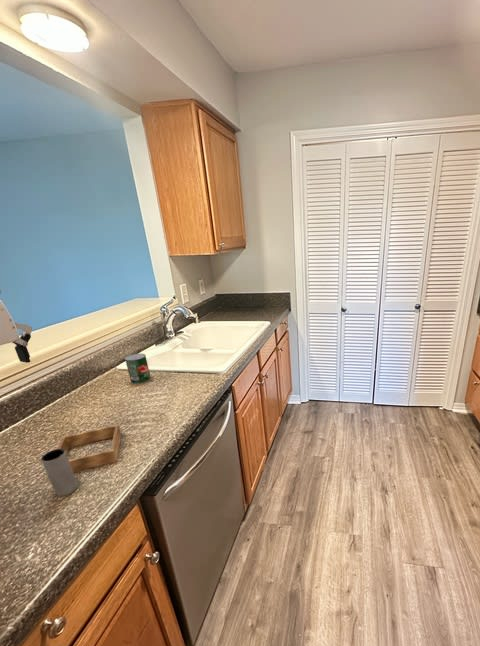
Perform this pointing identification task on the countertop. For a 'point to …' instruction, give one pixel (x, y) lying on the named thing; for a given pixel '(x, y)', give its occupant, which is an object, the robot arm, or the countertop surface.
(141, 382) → the canned tomato
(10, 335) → the robot arm
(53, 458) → the planter
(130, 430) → the countertop surface
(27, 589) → the countertop surface
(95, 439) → the wooden square frame
